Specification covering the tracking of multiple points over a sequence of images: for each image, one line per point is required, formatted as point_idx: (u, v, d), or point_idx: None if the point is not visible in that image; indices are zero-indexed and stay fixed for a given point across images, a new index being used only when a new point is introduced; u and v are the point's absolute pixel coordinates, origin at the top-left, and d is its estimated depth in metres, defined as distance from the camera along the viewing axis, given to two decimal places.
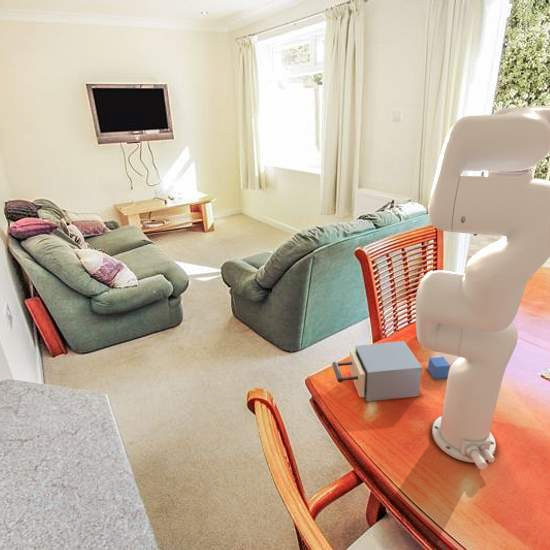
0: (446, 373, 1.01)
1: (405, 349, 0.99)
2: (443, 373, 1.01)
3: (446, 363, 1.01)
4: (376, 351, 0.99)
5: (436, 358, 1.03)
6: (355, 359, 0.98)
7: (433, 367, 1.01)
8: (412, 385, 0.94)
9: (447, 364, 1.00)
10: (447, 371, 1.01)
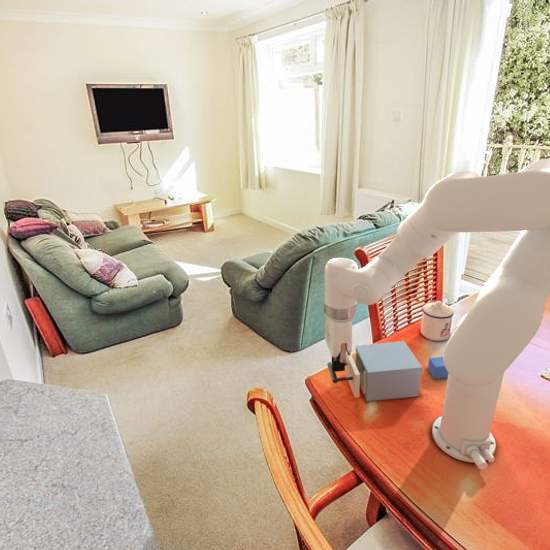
0: (446, 373, 1.01)
1: (405, 349, 0.99)
2: (443, 373, 1.01)
3: None
4: (376, 351, 0.99)
5: (436, 358, 1.03)
6: (350, 359, 0.98)
7: (433, 367, 1.01)
8: (412, 385, 0.94)
9: None
10: (447, 371, 1.01)
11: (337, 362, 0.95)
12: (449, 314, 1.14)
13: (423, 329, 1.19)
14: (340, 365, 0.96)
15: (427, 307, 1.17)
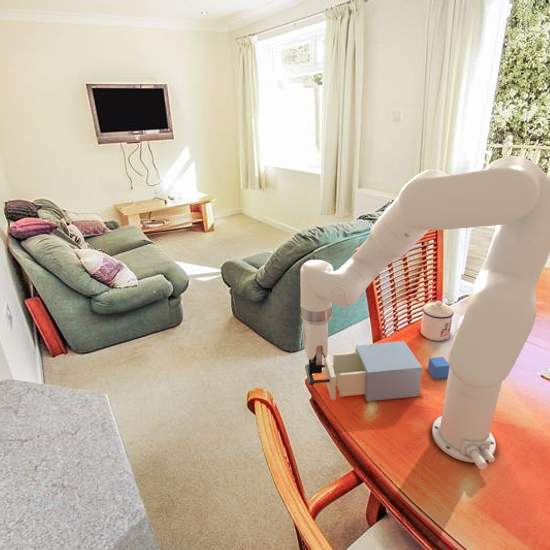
0: (446, 373, 1.01)
1: (405, 349, 0.99)
2: (443, 373, 1.01)
3: (446, 363, 1.01)
4: (376, 351, 0.99)
5: (436, 358, 1.03)
6: (327, 362, 0.98)
7: (433, 367, 1.01)
8: (412, 385, 0.94)
9: (447, 364, 1.00)
10: (447, 371, 1.01)
11: (314, 364, 0.95)
12: (449, 314, 1.14)
13: (423, 329, 1.19)
14: (317, 367, 0.95)
15: (427, 307, 1.17)
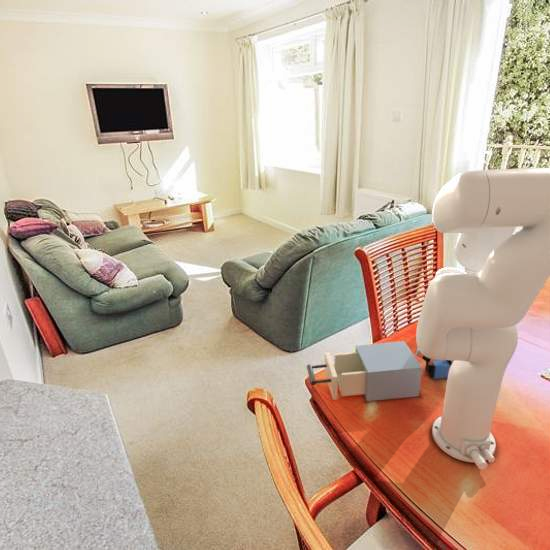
0: (446, 373, 1.01)
1: (405, 349, 0.99)
2: (443, 373, 1.01)
3: (446, 363, 1.01)
4: (376, 351, 0.99)
5: None
6: (329, 361, 0.98)
7: None
8: (412, 385, 0.94)
9: (447, 364, 1.00)
10: (447, 371, 1.01)
11: (452, 363, 1.01)
12: None
13: None
14: None
15: None
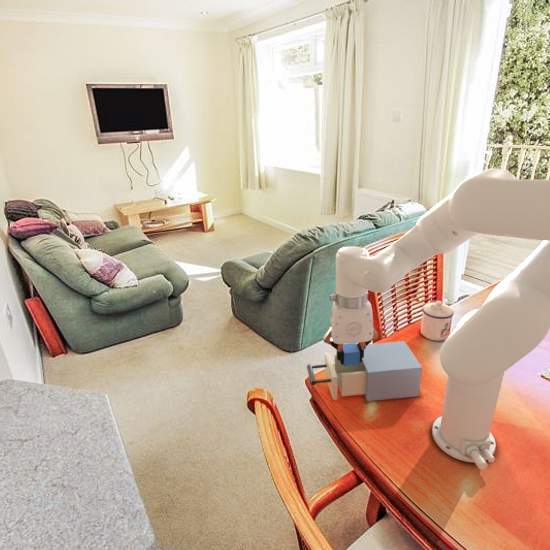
0: (356, 360, 0.95)
1: (405, 349, 0.99)
2: (353, 360, 0.95)
3: (356, 349, 0.94)
4: (376, 351, 0.99)
5: (348, 344, 0.97)
6: (329, 361, 0.98)
7: None
8: (412, 385, 0.94)
9: (357, 350, 0.94)
10: (357, 358, 0.94)
11: (363, 349, 0.95)
12: (449, 314, 1.14)
13: (423, 329, 1.19)
14: None
15: (427, 307, 1.17)
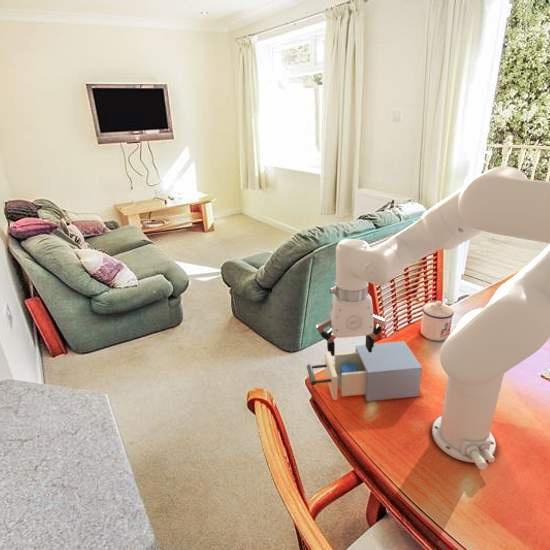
0: None
1: (405, 349, 0.99)
2: None
3: (355, 370, 0.97)
4: (376, 351, 0.99)
5: (347, 365, 0.99)
6: (329, 361, 0.98)
7: None
8: (412, 385, 0.94)
9: (356, 371, 0.97)
10: None
11: (373, 339, 0.94)
12: (449, 314, 1.14)
13: (423, 329, 1.19)
14: None
15: (427, 307, 1.17)
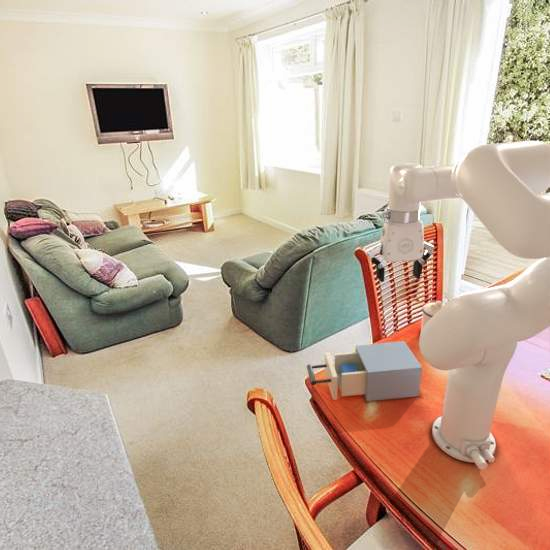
0: None
1: (405, 349, 0.99)
2: None
3: (355, 370, 0.97)
4: (376, 351, 0.99)
5: (347, 365, 0.99)
6: (329, 361, 0.98)
7: None
8: (412, 385, 0.94)
9: (356, 371, 0.97)
10: None
11: (421, 265, 0.98)
12: None
13: None
14: None
15: (427, 307, 1.17)
